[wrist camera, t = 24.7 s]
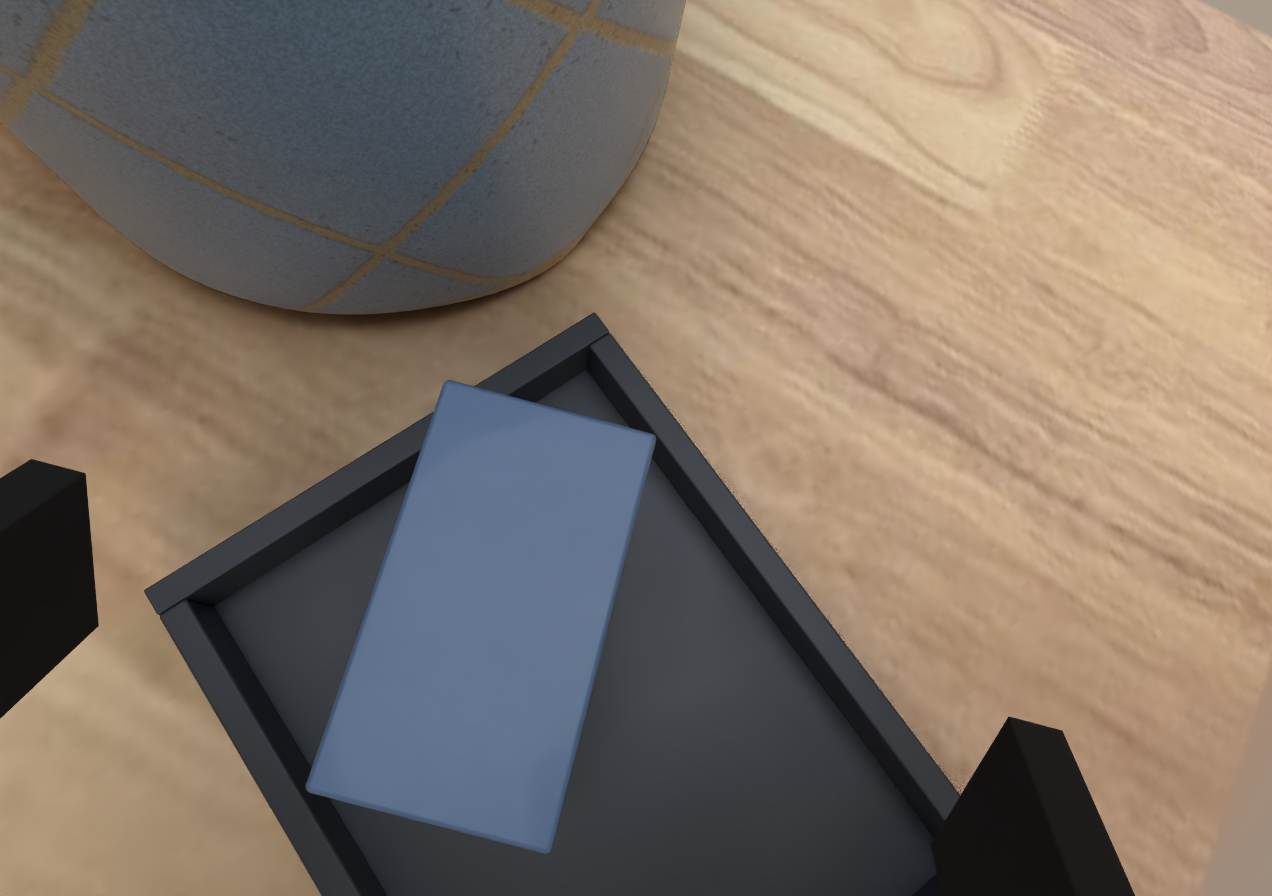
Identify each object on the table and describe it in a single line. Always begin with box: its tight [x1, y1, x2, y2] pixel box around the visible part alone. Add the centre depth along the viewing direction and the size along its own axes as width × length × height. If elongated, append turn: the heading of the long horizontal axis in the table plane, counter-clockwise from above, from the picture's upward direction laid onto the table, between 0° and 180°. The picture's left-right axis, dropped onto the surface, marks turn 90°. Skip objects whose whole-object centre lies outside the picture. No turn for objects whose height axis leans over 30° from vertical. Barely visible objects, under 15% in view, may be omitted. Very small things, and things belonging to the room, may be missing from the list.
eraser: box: [306, 380, 656, 854], centre depth 20 cm, size 8×4×11 cm, turn 166°
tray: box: [144, 313, 960, 896], centre depth 24 cm, size 20×15×3 cm
